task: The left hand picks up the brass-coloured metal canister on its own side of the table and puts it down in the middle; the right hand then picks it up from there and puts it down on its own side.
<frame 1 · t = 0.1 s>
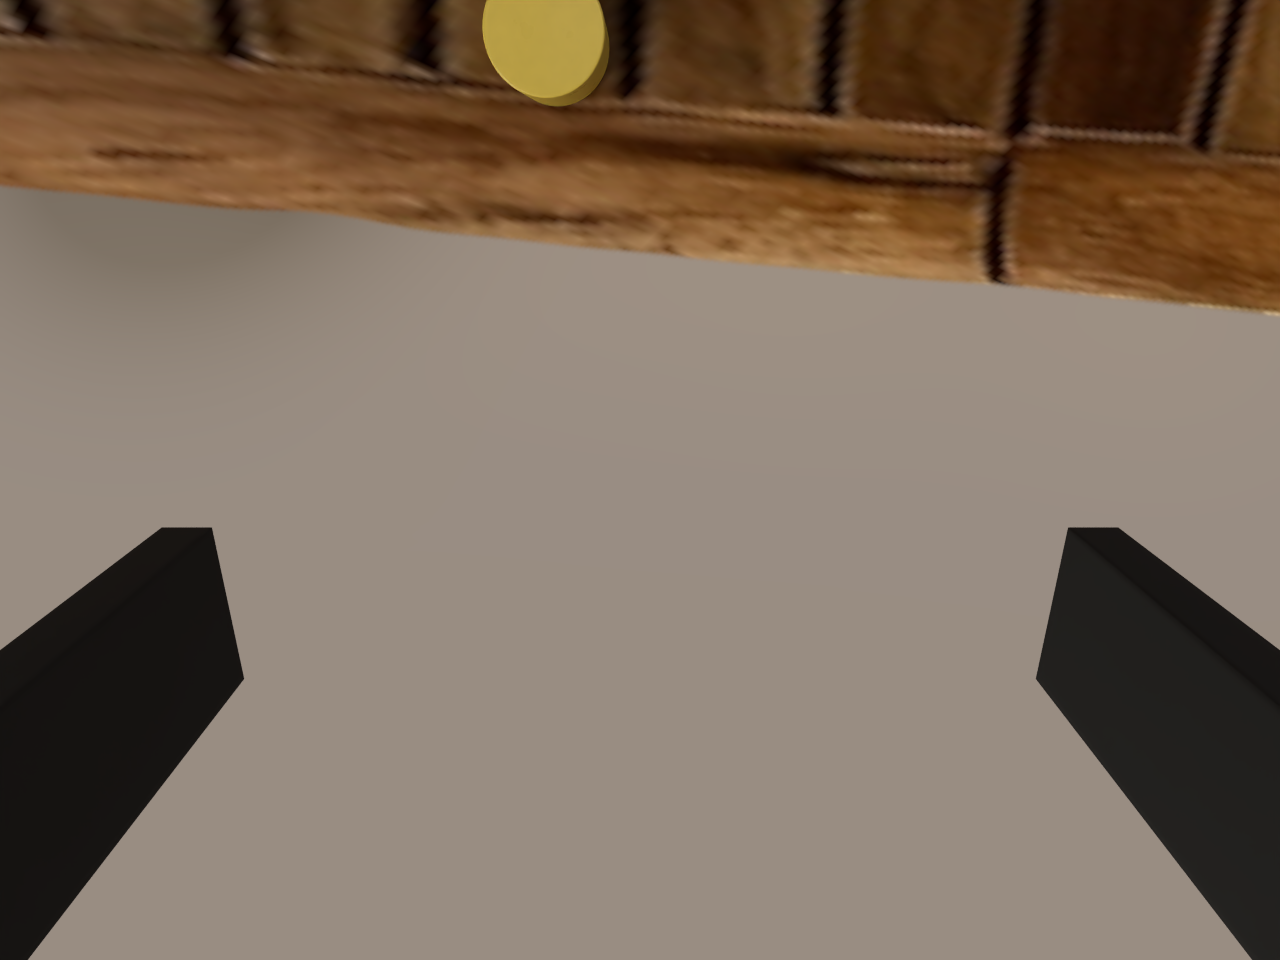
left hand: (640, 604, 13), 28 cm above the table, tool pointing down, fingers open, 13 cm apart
canister: (556, 47, 35), on the table
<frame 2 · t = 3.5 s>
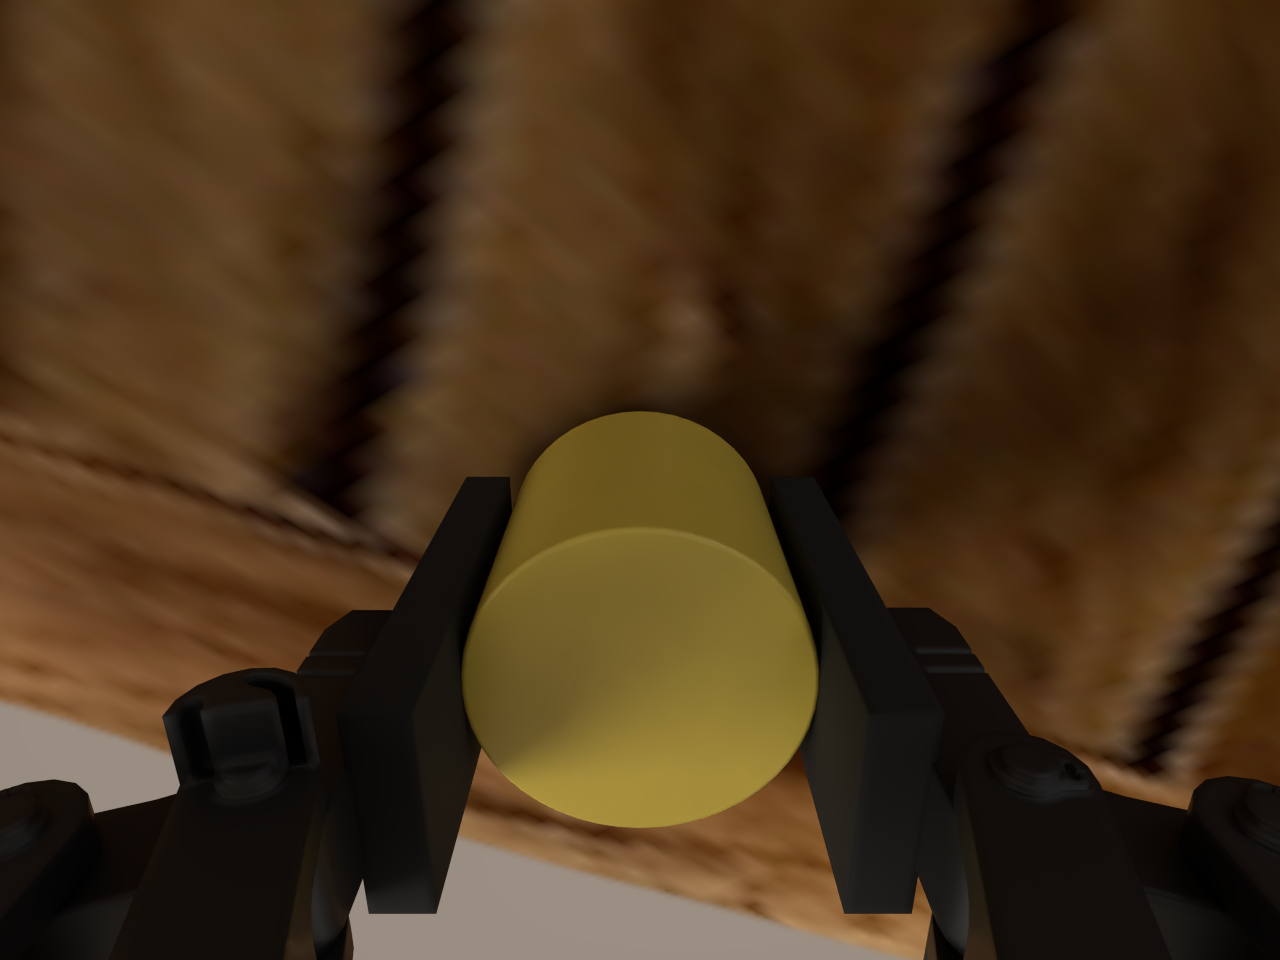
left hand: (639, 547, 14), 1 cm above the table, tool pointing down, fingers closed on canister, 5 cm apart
canister: (640, 530, 15), on the table, touching left hand
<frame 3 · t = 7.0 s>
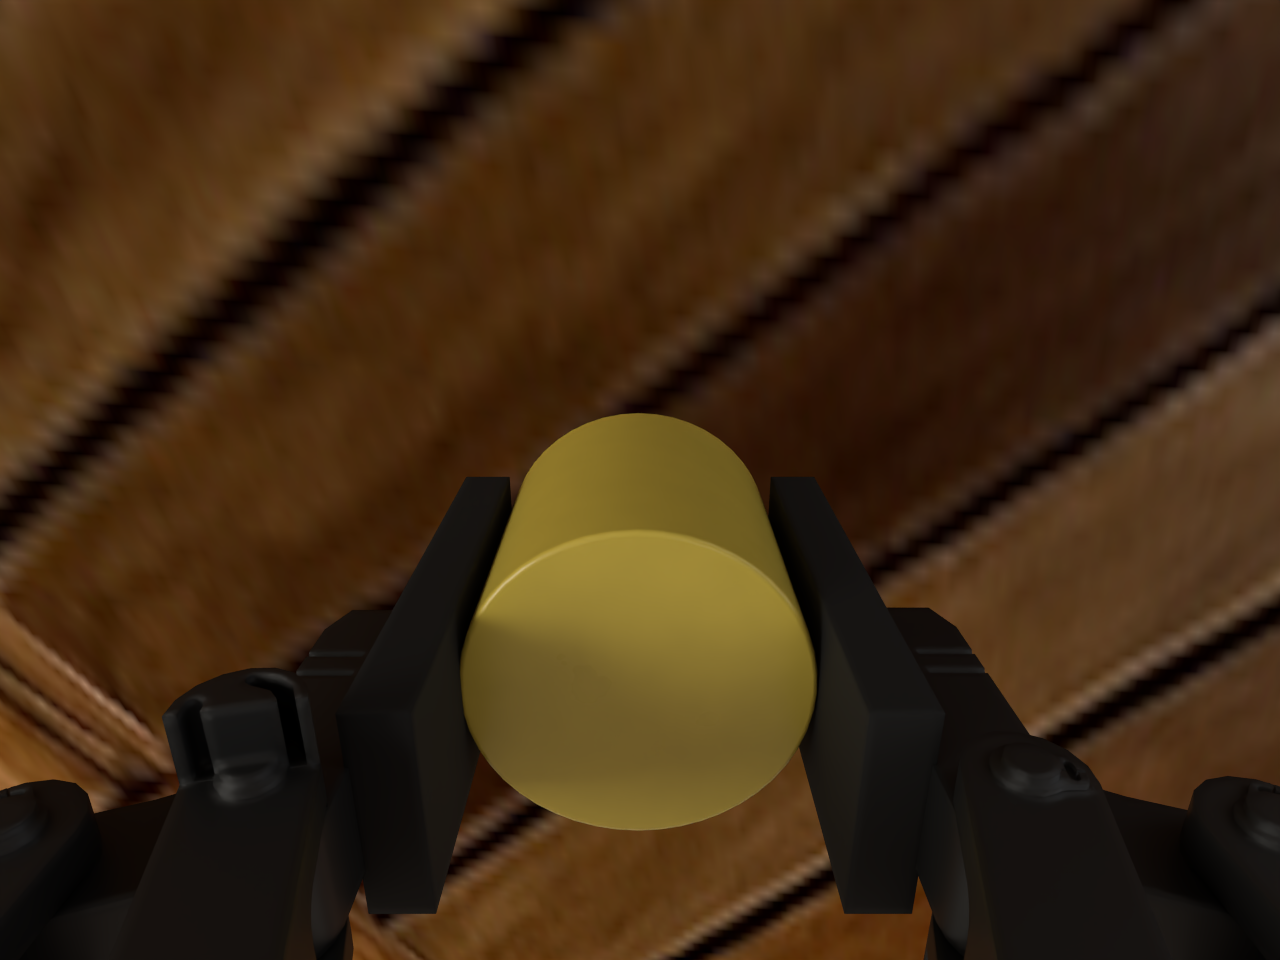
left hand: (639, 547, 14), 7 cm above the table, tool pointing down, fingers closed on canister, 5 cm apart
canister: (638, 532, 15), point 7 cm above the table, touching left hand
when the left hand's fingers open (1 cm above the table, at t = 10.8 s): canister stays where it is, on the table.
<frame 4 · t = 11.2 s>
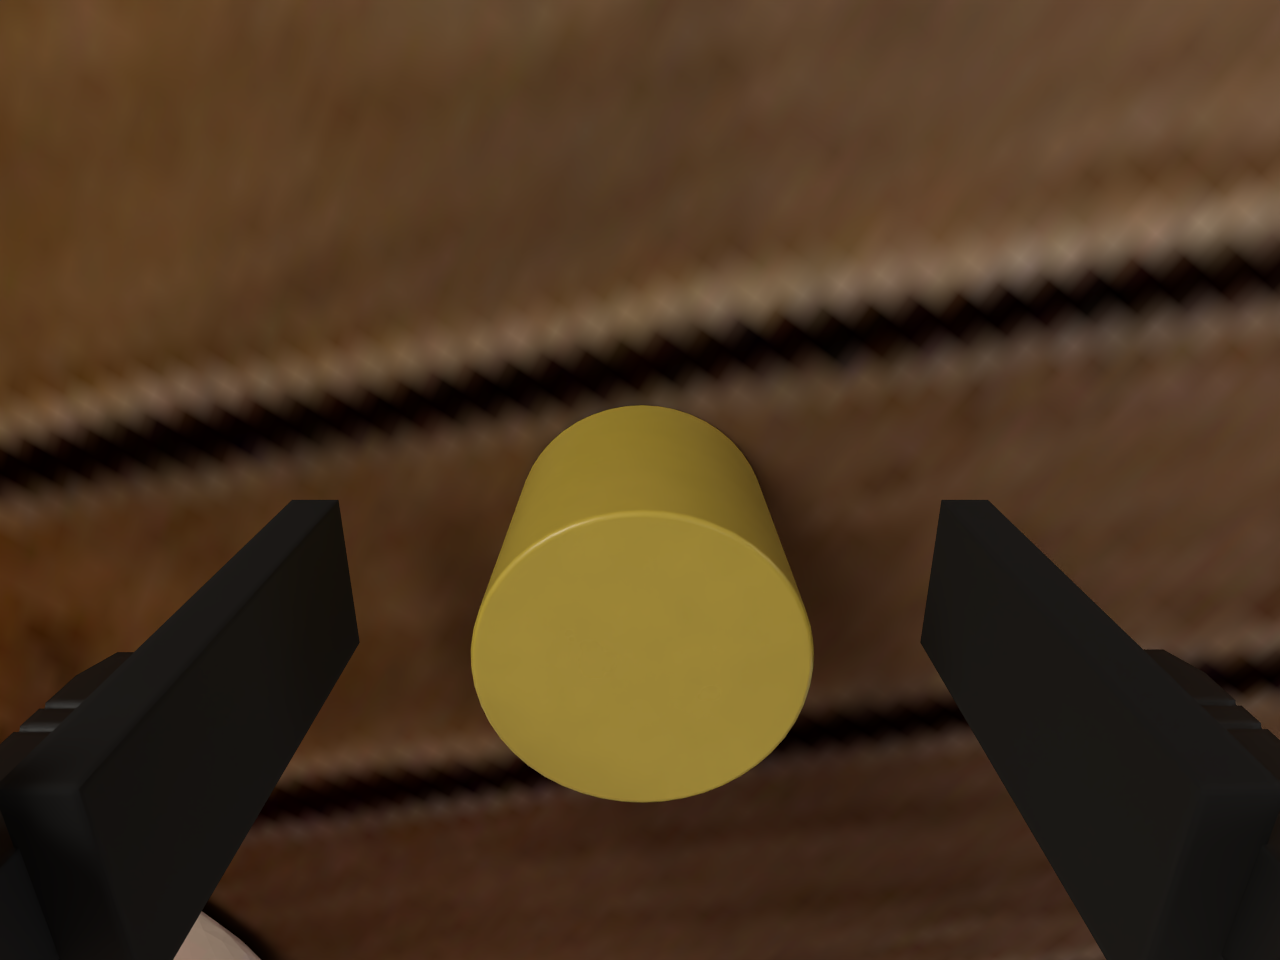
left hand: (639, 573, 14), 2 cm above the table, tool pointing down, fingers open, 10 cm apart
canister: (641, 521, 15), on the table
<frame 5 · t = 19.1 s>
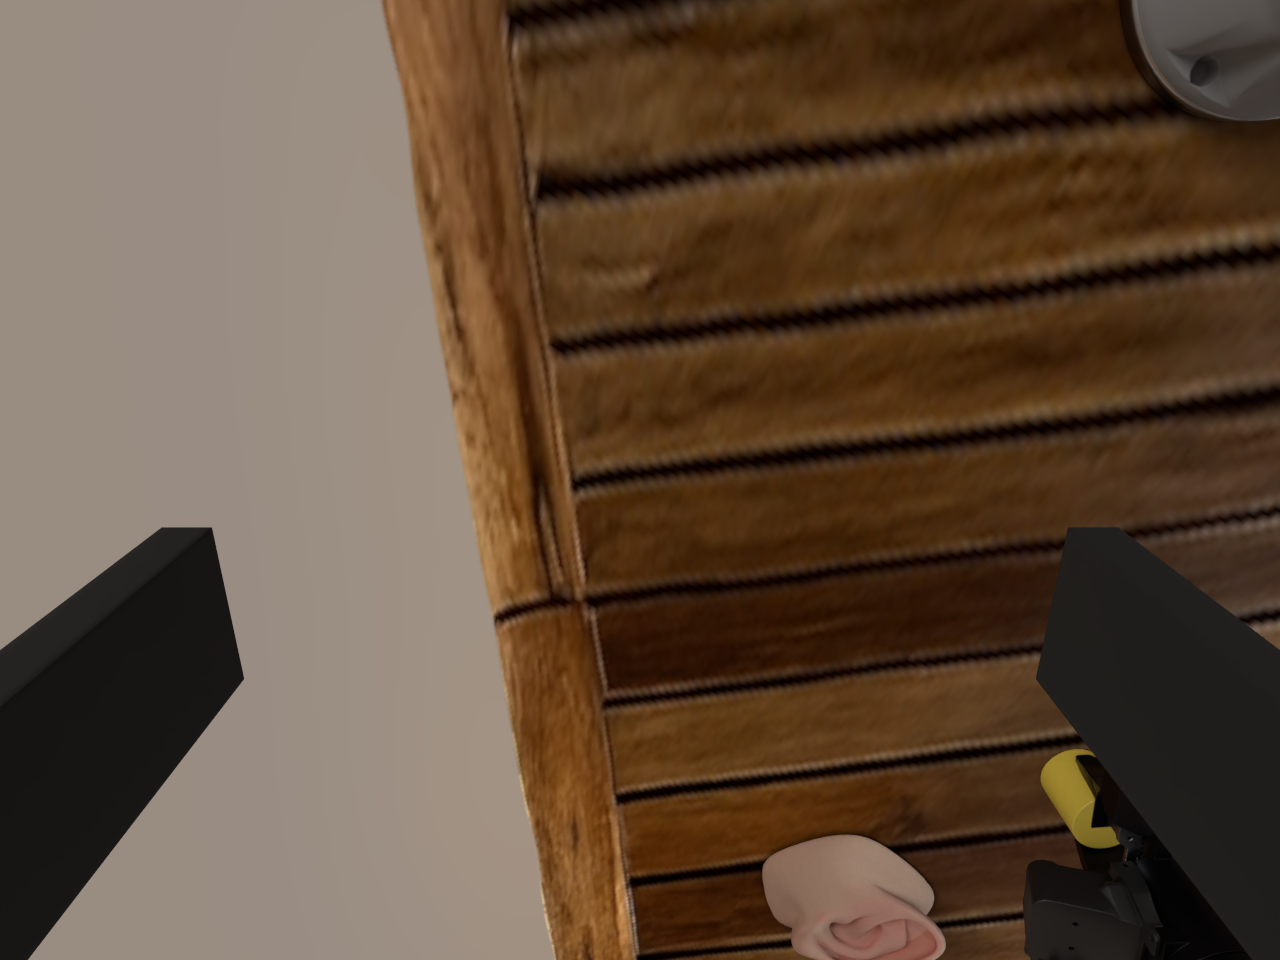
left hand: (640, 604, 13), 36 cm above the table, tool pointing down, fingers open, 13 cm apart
anatomical model: (842, 888, 63), on the table
canister: (1071, 773, 59), on the table, touching right hand
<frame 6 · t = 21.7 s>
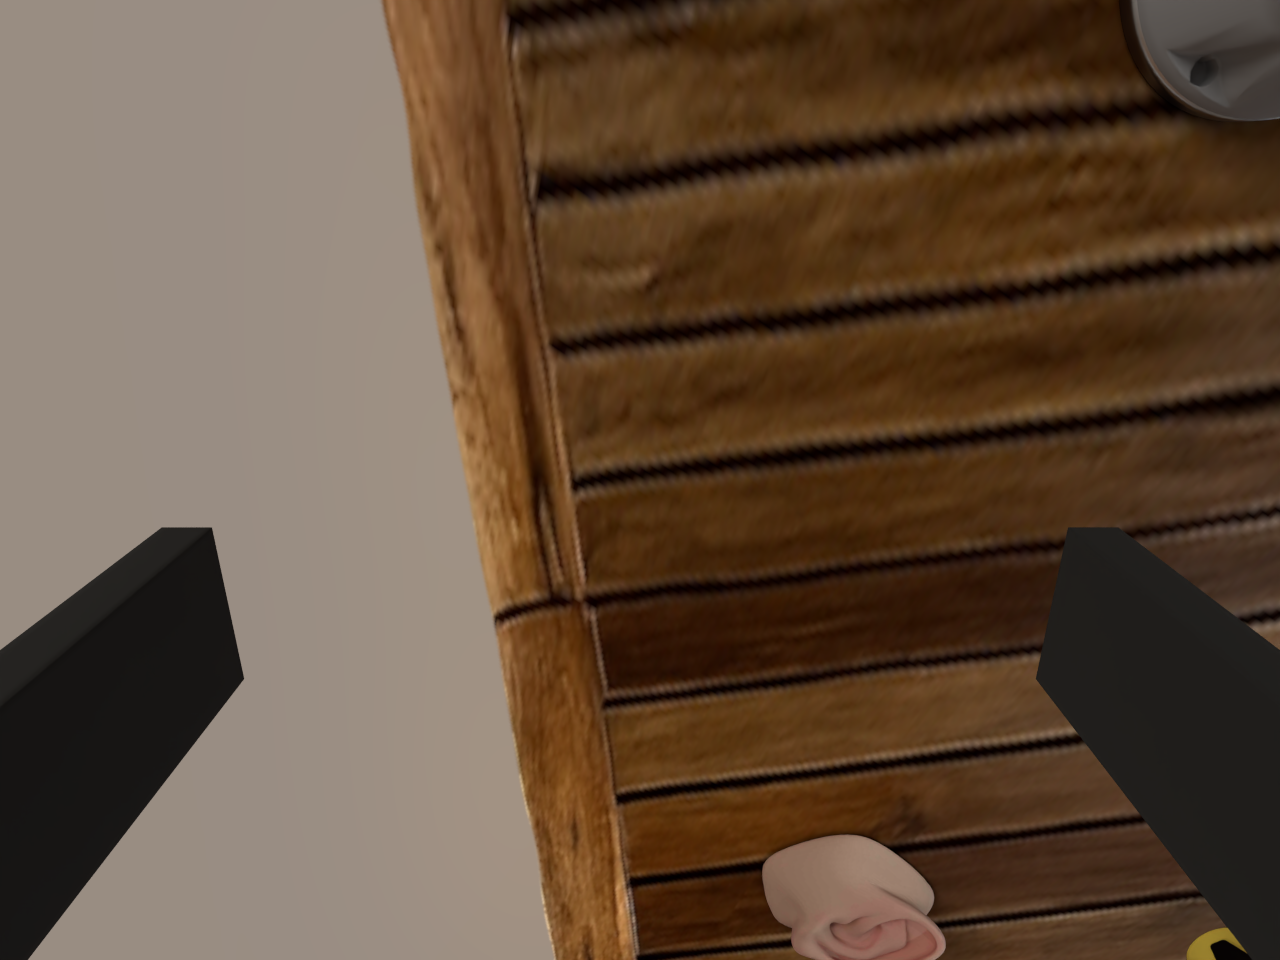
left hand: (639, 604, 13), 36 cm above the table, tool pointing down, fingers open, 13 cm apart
anatomical model: (842, 888, 63), on the table
canister: (1219, 950, 56), point 7 cm above the table, touching right hand
when the right hand's fingers open (2 cm above the table, at t = 24.5 s): canister stays where it is, on the table.
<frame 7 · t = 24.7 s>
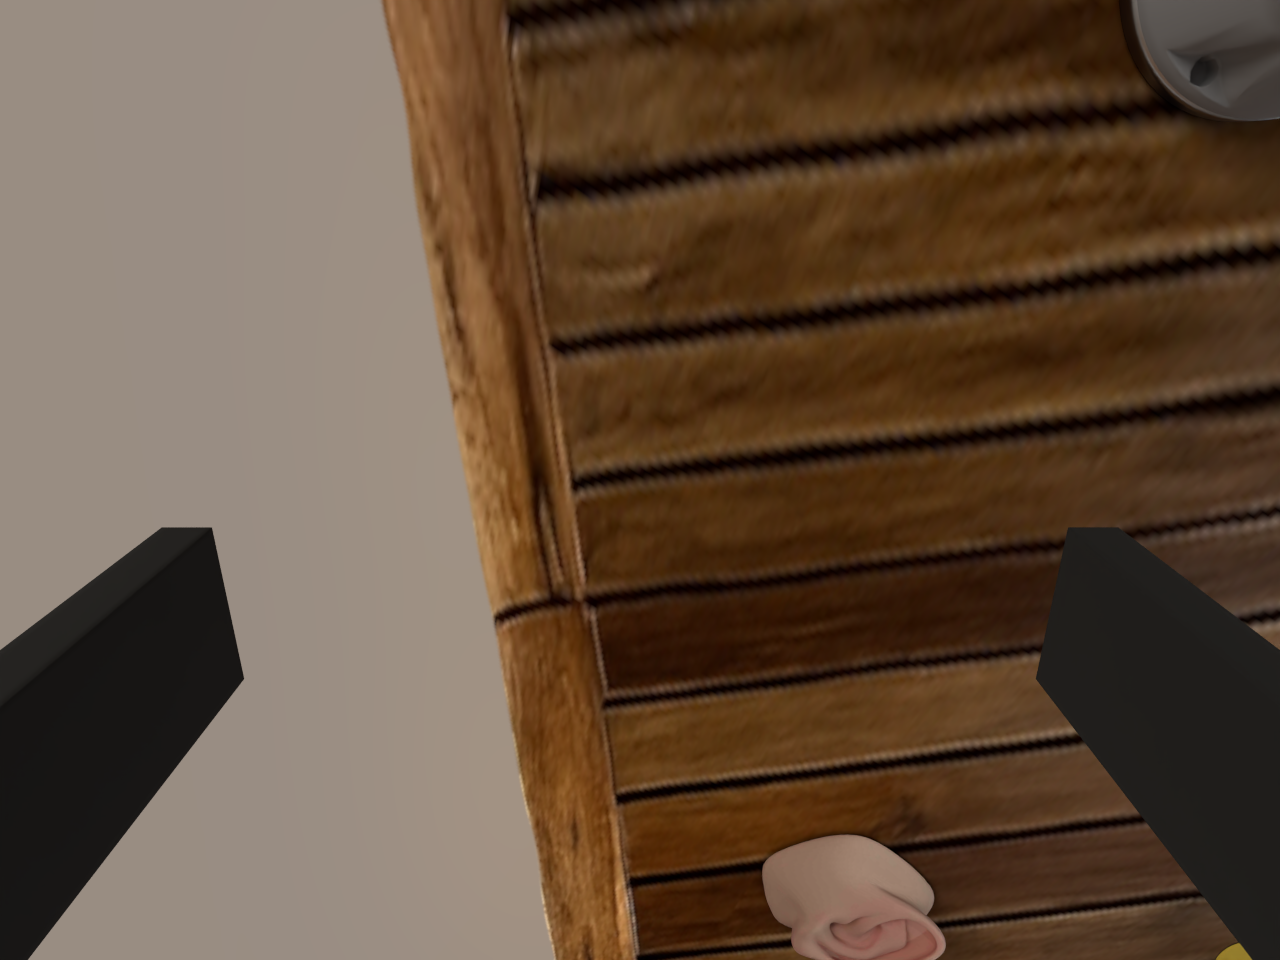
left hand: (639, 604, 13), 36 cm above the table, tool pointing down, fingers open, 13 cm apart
anatomical model: (842, 888, 63), on the table
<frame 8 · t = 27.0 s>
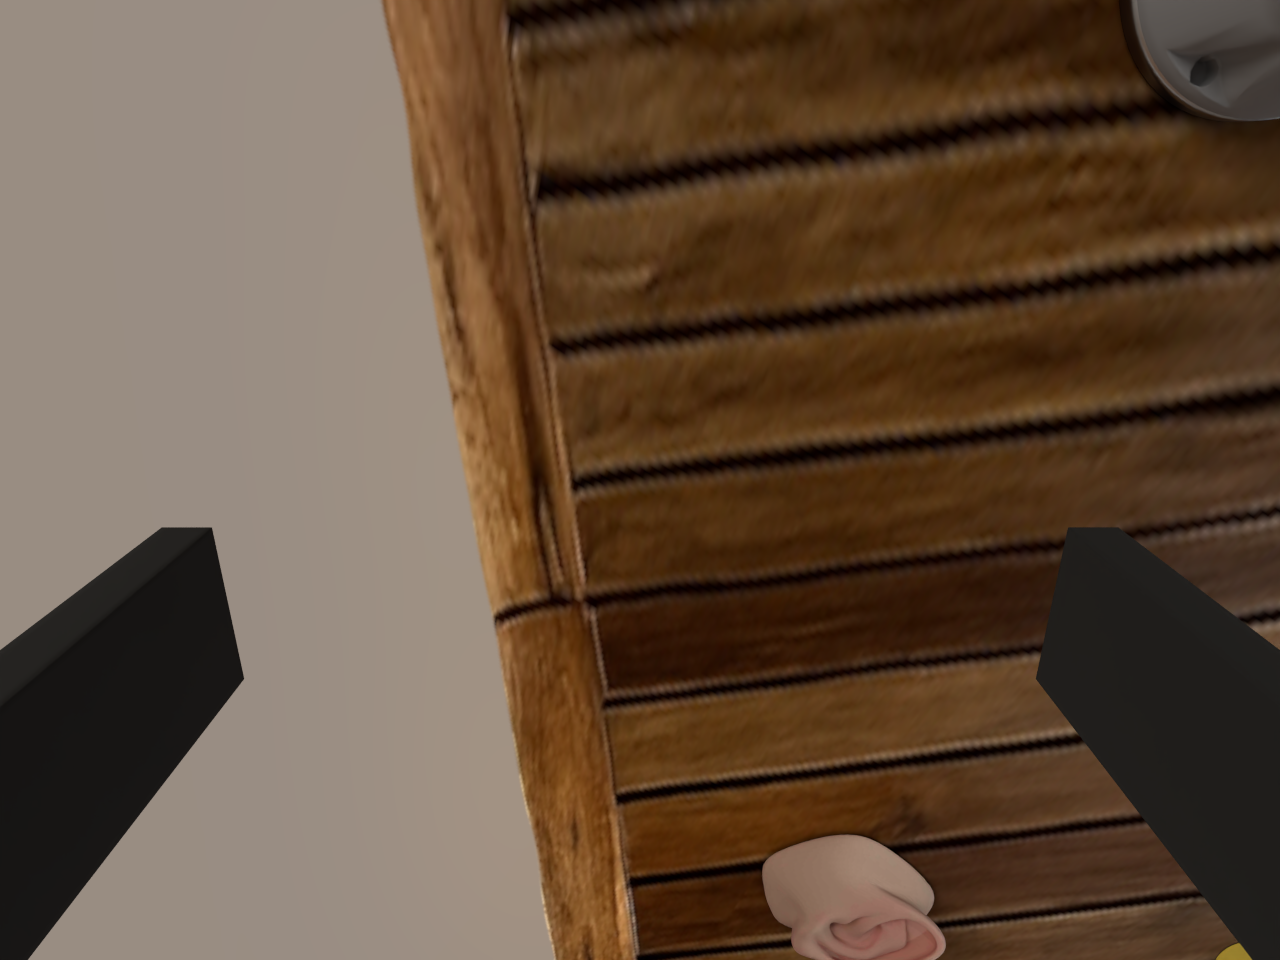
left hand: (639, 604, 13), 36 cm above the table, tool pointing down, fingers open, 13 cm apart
anatomical model: (842, 888, 63), on the table
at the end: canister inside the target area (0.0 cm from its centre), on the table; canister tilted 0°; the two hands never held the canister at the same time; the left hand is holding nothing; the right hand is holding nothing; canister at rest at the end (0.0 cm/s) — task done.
